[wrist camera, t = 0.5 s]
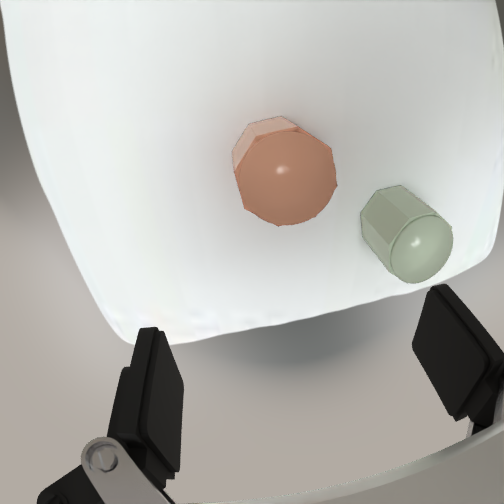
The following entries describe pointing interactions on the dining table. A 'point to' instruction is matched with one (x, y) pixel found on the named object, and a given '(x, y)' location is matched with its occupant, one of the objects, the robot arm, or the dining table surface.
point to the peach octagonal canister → (283, 172)
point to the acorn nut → (406, 234)
